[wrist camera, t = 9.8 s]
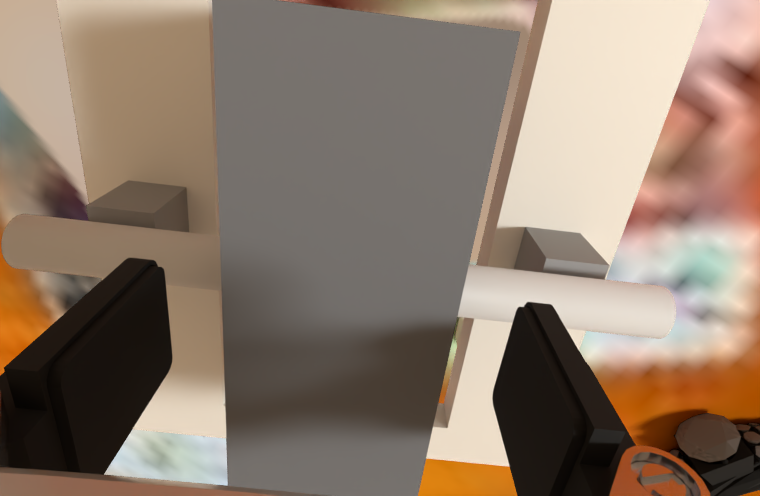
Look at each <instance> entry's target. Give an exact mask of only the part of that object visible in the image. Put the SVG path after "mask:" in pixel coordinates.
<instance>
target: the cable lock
mask: <svg viewBox="0 0 760 496" xmlns="http://www.w3.org/2000/svg"><path fill="white" fill-rule="evenodd" d="M758 425H759V424H757V423H749V425H742V424H737V425H734V424H733V423H732V422H730V421H729V420H728V419H726V418H725V417H724V416H720V415H715V414H710V413H705V414H700V415H697V416H694V417H691V418H689V419H687V420H686V421H684V422H682V423H681V424H680V425H679V427H678V430H677V432H676V435H674V436H675V438H676V439H677V442H678V445H679V447H680V448H681V449H682V450H683V451H684V452H685V453H686V454H687V455H684V456H683V455H682V454H681V452H680V451H678V450H671V451H670V454H672V455H673V456H675V457H677V458H678V459H680V460H682V461H683V462H684V463H686V464H687V465H688V466H689V467H690V468H692V469H693V470H694V471H695V472H696V473H697V474H698V476H699V477H700V478H701V479H702V480H703V481H704V483H705V485H706V487H707V489H708V491H709V492H710V496H740V495H743V494H747V493H750V492H754V491H758V490H760V425H759V426H758Z"/></svg>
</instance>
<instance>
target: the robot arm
mask: <svg viewBox="0 0 760 496" xmlns="http://www.w3.org/2000/svg"><path fill="white" fill-rule="evenodd" d="M172 359H173V357H172V345H171V334H170V323H169V313H168V302H167V291H166V281H165V272H164V269H163V268H162V267H158V265H157V263H156V261H154V260H149V259H140V258H127V259H126V260H124V261H123V262H122V263H121V264H120V265H119V266H118V267H117V268H115V269H114V270H113V271H112V272H111V273H110V274H109V275H108V276H106V277H105V278H104V279H103V280H102V281H101V282H100V283H99V284H97V285H96V286H95V287H94V288H93V289H92V290H91V291H90V292H89V293H87V294H86V295H85V296H84V297H83V298H82V299H81V300H80V301H78V302H77V303H76V304H75V305H74V306H73V307H72V308H71V309H69V310H68V311H67V312H66V313H65V314H64V315H63V316H62V317H60V318H59V319H58V320H57V321H56V322H55V323H54V324H53V325H51V326H50V327H49V328H48V329H47V330H46V331H45V332H44V333H43V334H41V335H40V336H39V337H38V338H37V339H36V340H35V341H34V342H32V343H31V344H30V345H29V346H28V347H27V348H26V349H25V350H23V351H22V352H21V353H20V354H19V355H18V356H17V357H16V358H14V359H13V360H12V361H11V362H10V363H9V364H8V365H7V366H5V367H4V370H5V372H4V373H3V374H2V375H1V376H0V496H329V495H319V494H308V493H298V492H287V491H277V490H266V489H256V488H245V487H235V486H224V485H213V484H202V483H191V482H179V481H168V480H157V479H146V478H135V477H124V476H113V475H104V473H105V472H106V470H107V468H108V467H109V465H110V464H111V462H112V461H113V459H114V457H115V456H116V454H117V453H118V451H119V450H120V448H121V446H122V445H123V443H124V442H125V440H126V438H127V437H128V435H129V434H130V432H131V431H132V429H133V427H134V426H135V424H136V423H137V421H138V420H139V418H140V416H141V415H142V413H143V412H144V410H145V409H146V407H147V405H148V404H149V402H150V401H151V399H152V398H153V396H154V394H155V393H156V391H157V390H158V388H159V387H160V385H161V383H162V382H163V380H164V379H165V377H166V375H167V374H168V372H169V370H170V368H171V365H172ZM492 400H493V407H494V410H495V414H496V418H497V422H498V425H499V429H500V433H501V436H502V440H503V444H504V447H505V451H506V455H507V458H508V462H509V466H510V469H511V473H512V477H513V480H514V484H515V488H516V492H517V495H518V496H710V492H709V491H708V489H707V487H706V485H705V483H704V481H703V480H702V479H701V478H700V477H699V476H698V474H697V473H696V472H695V471H694V470H693V469H692V468H690V467H689V466H688V465H687V464H686V463H684V462H683V461H682V460H680V459H678V458H677V457H675V456H673V455H672V454H670V453H668V452H665V451H663V450H660V449H658V448H654V447H650V446H645V445H644V446H636V445H635V443H634V442H633V440H632V438H631V437H630V435H629V433H628V431H627V430H626V428H625V426H624V425H623V423H622V421H621V419H620V418H619V416H618V414H617V413H616V411H615V409H614V407H613V406H612V404H611V402H610V401H609V399H608V397H607V396H606V394H605V392H604V390H603V389H602V387H601V385H600V384H599V382H598V380H597V378H596V377H595V375H594V373H593V372H592V370H591V368H590V367H589V365H588V364H587V363H586V362H585V360H584V359H583V357H582V355H581V353H580V352H579V350H578V348H577V346H576V345H575V343H574V341H573V340H572V338H571V336H570V334H569V333H568V331H567V329H566V327H565V326H564V324H563V322H562V321H561V319H560V317H559V315H558V314H557V312H556V310H555V309H554V307H553V306H552V305H551V304H544V303H535V302H527V303H526V304H525V305H524V307H518V308H517V310H516V313H515V316H514V320H513V323H512V327H511V330H510V334H509V337H508V341H507V344H506V348H505V351H504V354H503V358H502V361H501V365H500V368H499V372H498V375H497V379H496V382H495V386H494V389H493V397H492Z"/></svg>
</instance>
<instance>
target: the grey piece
mask: <svg viewBox="0 0 760 496" xmlns="http://www.w3.org/2000/svg"><path fill="white" fill-rule="evenodd" d="M212 17H213V47H214V78H215V108H216V138H217V169H218V199H219V229H220V259H221V290H222V320H223V350H224V381H225V411H226V441H227V472H228V486H235V487H245V488H256V489H266V490H277V491H287V492H298V493H308V494H319V495H329V496H418V492H419V488H420V483H421V479H422V474H423V470H424V465H425V461H426V456H427V452H428V447H429V443H430V438H431V433H432V429H433V424H434V420H435V415H436V411H437V406H438V402H439V397H440V393H441V388H442V384H443V379H444V375H445V370H446V366H447V361H448V357H449V352H450V348H451V343H452V339H453V334H454V330H455V325H456V321H457V316H458V312H459V307H460V303H461V298H462V293H463V289H464V284H465V280H466V275H467V271H468V266H469V262H470V257H471V253H472V248H473V244H474V239H475V235H476V230H477V225H478V221H479V217H480V212H481V208H482V203H483V199H484V194H485V190H486V185H487V181H488V176H489V171H490V167H491V163H492V158H493V154H494V149H495V144H496V140H497V135H498V131H499V126H500V122H501V117H502V113H503V108H504V104H505V99H506V95H507V90H508V86H509V80H510V77H511V72H512V68H513V63H514V58H515V54H516V50H517V45H518V41H519V36H520V32H518V31H510V30H503V29H495V28H486V27H479V26H472V25H464V24H456V23H448V22H441V21H433V20H425V19H418V18H410V17H402V16H394V15H387V14H379V13H371V12H363V11H356V10H348V9H340V8H332V7H325V6H317V5H309V4H301V3H294V2H286V1H278V0H212Z"/></svg>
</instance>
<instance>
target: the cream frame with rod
mask: <svg viewBox="0 0 760 496" xmlns="http://www.w3.org/2000/svg"><path fill="white" fill-rule="evenodd" d="M709 2H710V0H538V3H537V7H536V12H535V16H534V20H533V24H532V29H531V33H530V37H529V42H528V46H527V50H526V55H525V59H524V63H523V67H522V72H521V76H520V80H519V84H518V89H517V93H516V97H515V102H514V106H513V111H512V114H511V119H510V123H509V128H508V132H507V136H506V140H505V144H504V149H503V153H502V157H501V162H500V166H499V170H498V174H497V179H496V183H495V187H494V192H493V196H492V200H491V204H490V209H489V213H488V217H487V222H486V226H485V230H484V235H483V239H482V243H481V247H480V252H479V256H478V260H477V264H476V265H471V264H469V266H468V271H467V275H466V280H465V284H464V289H463V293H462V298H461V303H460V307H459V312H458V316H457V317H459V320H458V325H457V329H456V334H455V337H456V342H457V350H456V354H455V359H454V363H453V367H452V371H451V376H450V380H449V384H448V389H447V393H446V397H445V401H444V404H441V403H438V406H437V411H436V415H435V420H434V424H433V429H432V433H431V438H430V443H429V447H428V452H427V456H426V458H429V459H439V460H449V461H459V462H469V463H480V464H490V465H500V466H509V462H508V458H507V455H506V451H505V447H504V444H503V440H502V436H501V433H500V429H499V425H498V422H497V418H496V414H495V410H494V407H493V400H492V397H493V389H494V386H495V382H496V379H497V375H498V372H499V368H500V365H501V361H502V358H503V354H504V351H505V348H506V344H507V341H508V337H509V334H510V330H511V327H512V323H513V320H514V316H515V313H516V310H517V308H518V307H524V305H525V304H526V303H527V302H535V303H544V304H551V305H552V306H553V307H554V309H555V310H556V312H557V314H558V315H559V317H560V319H561V321H562V322H563V324H564V326H565V327H566V329H567V331H568V333H569V334H570V336H571V338H572V340H573V341H574V343H575V345H576V346H577V348H578V350H579V349H580V346H581V344H582V341H583V338H584V336H585V333H586V331H592V332H601V333H610V334H620V335H629V336H638V337H647V338H656V339H661V338H664V337H665V336H667V335H668V334H669V333H670V331H671V330H672V328H673V325H674V322H675V318H676V305H675V301H674V298H673V296H672V294H671V292H670V291H669V290H668V289H667V288H665V287H663V286H656V285H647V284H638V283H629V282H621V281H612V280H605V279H606V277H607V274H608V271H609V269H610V266H611V263H612V261H613V258H614V255H615V253H616V250H617V247H618V245H619V242H620V239H621V237H622V234H623V231H624V229H625V226H626V223H627V221H628V218H629V215H630V213H631V210H632V207H633V205H634V202H635V199H636V197H637V194H638V191H639V189H640V186H641V183H642V181H643V178H644V175H645V173H646V170H647V167H648V165H649V162H650V159H651V156H652V154H653V151H654V148H655V146H656V143H657V140H658V138H659V135H660V132H661V130H662V127H663V124H664V122H665V119H666V116H667V114H668V111H669V108H670V106H671V103H672V100H673V98H674V95H675V92H676V90H677V87H678V84H679V82H680V79H681V76H682V74H683V71H684V68H685V66H686V63H687V60H688V58H689V55H690V52H691V50H692V47H693V44H694V42H695V39H696V36H697V34H698V31H699V28H700V26H701V23H702V20H703V18H704V15H705V12H706V10H707V7H708V4H709ZM56 3H57V9H58V15H59V22H60V28H61V34H62V39H63V46H64V52H65V58H66V65H67V71H68V77H69V83H70V90H71V96H72V102H73V108H74V114H75V120H76V127H77V133H78V139H79V145H80V151H81V157H82V164H83V169H84V176H85V182H86V189H87V195H88V201H89V204H88V205H86V208H87V214H88V221H83V220H74V219H65V218H57V217H48V216H39V215H30V214H21V215H18V216H16V217H14V218H13V219H12V220H11V221H10V222H9V223H8V225H7V226H6V228H5V230H4V233H3V236H2V243H1V247H2V254H3V257H4V259H5V261H6V262H7V263H8V264H9V265H10V266H11V267H13V268H17V269H26V270H35V271H44V272H53V273H63V274H72V275H81V276H90V277H99V278H101V281H102V280H103V279H104V278H105V277H106V276H108V275H109V274H110V273H111V272H112V271H113V270H114V269H115V268H117V267H118V266H119V265H120V264H121V263H122V262H123V261H124V260H126V259H127V258H140V259H149V260H154V261H156V263H157V265H158V267H162V268H163V269H164V272H165V281H166V291H167V302H168V313H169V323H170V334H171V345H172V357H173V359H172V365H171V368H170V370H169V372H168V374H167V375H166V377H165V379H164V380H163V382H162V383H161V385H160V387H159V388H158V390H157V391H156V393H155V394H154V396H153V398H152V399H151V401H150V402H149V404H148V405H147V407H146V409H145V410H144V412H143V413H142V415H141V416H140V418H139V420H138V421H137V423H136V424H135V426H134V427H133V429H136V430H146V431H156V432H166V433H177V434H187V435H197V436H207V437H217V438H226V411H225V381H224V350H223V320H222V290H221V259H220V229H219V199H218V169H217V138H216V108H215V78H214V47H213V17H212V0H56Z"/></svg>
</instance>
